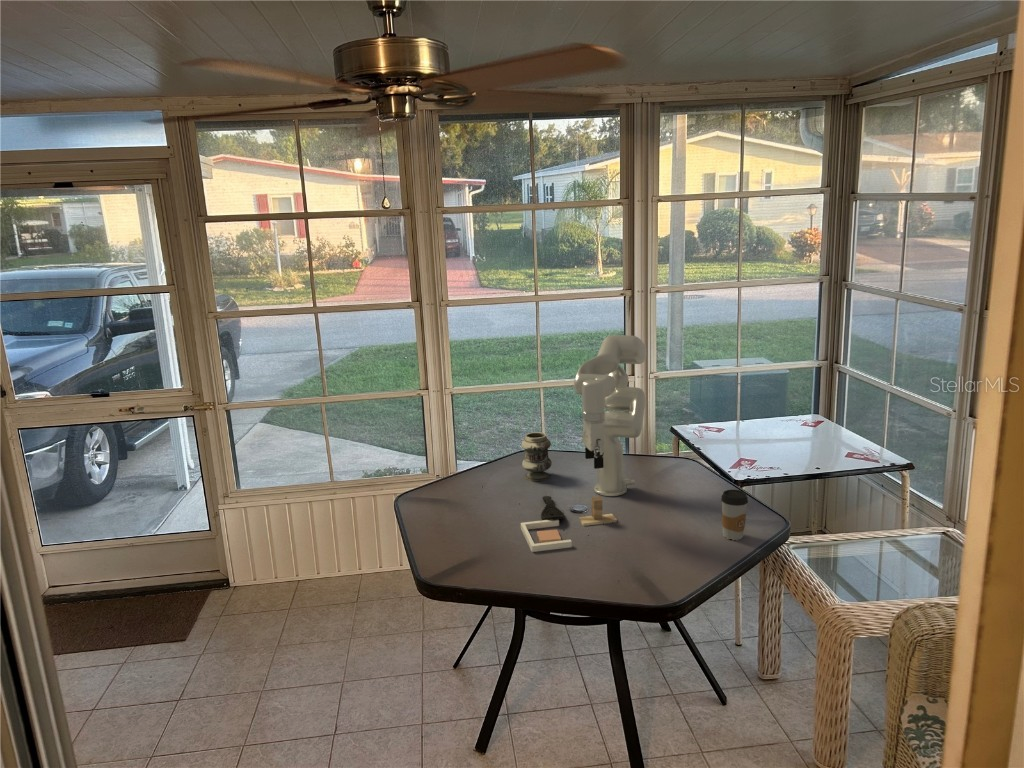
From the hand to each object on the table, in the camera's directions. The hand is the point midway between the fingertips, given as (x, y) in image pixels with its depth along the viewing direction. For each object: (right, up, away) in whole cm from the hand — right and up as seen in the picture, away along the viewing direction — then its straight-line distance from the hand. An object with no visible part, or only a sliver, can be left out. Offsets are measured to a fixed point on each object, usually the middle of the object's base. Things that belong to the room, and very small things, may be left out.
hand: (594, 463), depth 244 cm
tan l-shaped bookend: (+1, -20, +4) cm, 21 cm away
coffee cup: (+44, -23, -12) cm, 51 cm away
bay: (-17, -24, -8) cm, 30 cm away
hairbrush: (-15, -19, +12) cm, 27 cm away
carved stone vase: (-18, -11, +46) cm, 50 cm away
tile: (-16, -24, -9) cm, 30 cm away
